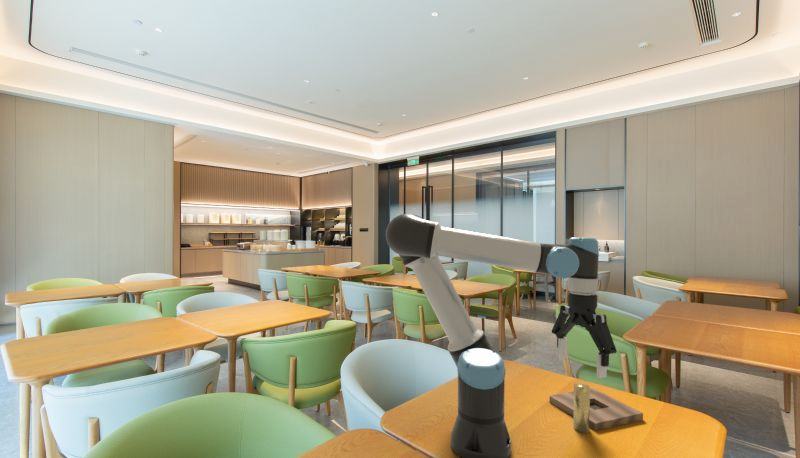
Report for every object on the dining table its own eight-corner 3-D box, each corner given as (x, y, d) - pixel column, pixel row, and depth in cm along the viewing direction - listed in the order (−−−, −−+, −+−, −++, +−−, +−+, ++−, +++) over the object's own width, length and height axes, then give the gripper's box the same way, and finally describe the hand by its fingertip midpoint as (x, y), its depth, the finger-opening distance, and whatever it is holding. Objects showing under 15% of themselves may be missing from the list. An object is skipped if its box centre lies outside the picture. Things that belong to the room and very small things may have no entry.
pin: (581, 433, 103) (581, 389, 103) (570, 426, 107) (570, 384, 107) (592, 431, 105) (593, 387, 105) (581, 424, 108) (581, 382, 108)
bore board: (595, 430, 105) (595, 423, 105) (549, 401, 122) (549, 395, 122) (642, 419, 111) (643, 413, 111) (592, 393, 128) (592, 388, 128)
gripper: (633, 300, 96) (631, 384, 96) (559, 285, 119) (558, 352, 120) (611, 302, 93) (609, 388, 94) (540, 286, 117) (538, 355, 117)
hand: (580, 368), depth 107 cm, fingers open, 13 cm apart
